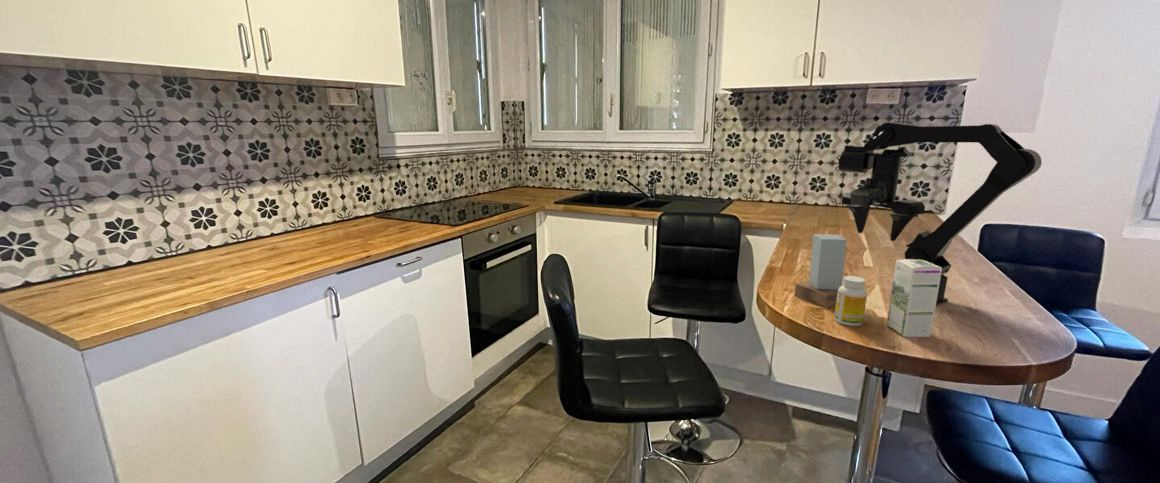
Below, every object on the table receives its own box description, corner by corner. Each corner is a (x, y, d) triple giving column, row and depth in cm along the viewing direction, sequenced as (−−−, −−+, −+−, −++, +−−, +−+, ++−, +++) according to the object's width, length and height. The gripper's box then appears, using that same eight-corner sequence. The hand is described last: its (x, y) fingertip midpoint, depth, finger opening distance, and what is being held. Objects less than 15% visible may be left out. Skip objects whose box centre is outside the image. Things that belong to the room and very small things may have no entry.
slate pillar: (832, 282, 119) (837, 234, 117) (841, 289, 114) (847, 239, 111) (808, 282, 120) (813, 234, 117) (816, 289, 115) (821, 239, 112)
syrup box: (932, 337, 96) (944, 266, 93) (901, 337, 96) (913, 266, 93) (913, 325, 102) (924, 258, 98) (884, 325, 102) (895, 258, 98)
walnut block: (852, 303, 115) (854, 289, 115) (825, 309, 112) (827, 295, 111) (820, 291, 123) (822, 278, 123) (794, 297, 120) (795, 283, 119)
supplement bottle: (828, 318, 106) (833, 276, 103) (847, 315, 107) (852, 273, 105) (849, 328, 101) (855, 283, 98) (868, 324, 102) (875, 281, 100)
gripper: (829, 172, 126) (821, 231, 130) (896, 180, 109) (886, 248, 113) (861, 171, 130) (853, 228, 133) (931, 178, 113) (920, 244, 116)
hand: (875, 236), depth 124 cm, fingers open, 9 cm apart
